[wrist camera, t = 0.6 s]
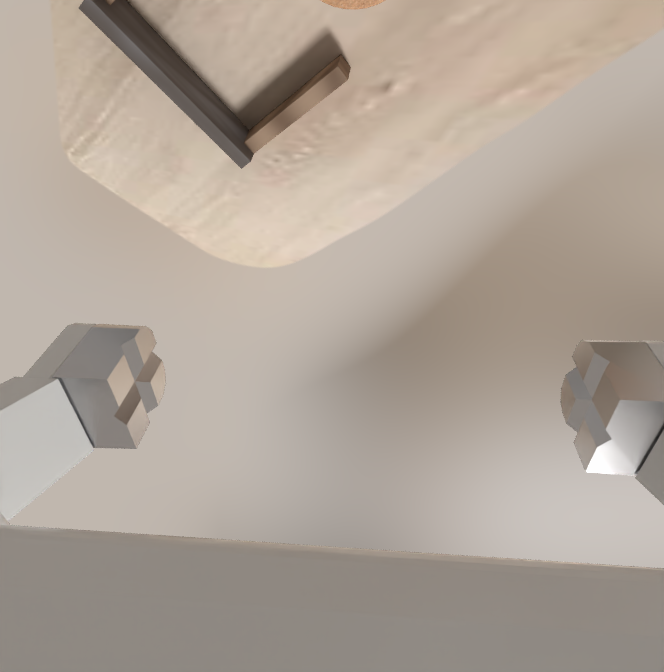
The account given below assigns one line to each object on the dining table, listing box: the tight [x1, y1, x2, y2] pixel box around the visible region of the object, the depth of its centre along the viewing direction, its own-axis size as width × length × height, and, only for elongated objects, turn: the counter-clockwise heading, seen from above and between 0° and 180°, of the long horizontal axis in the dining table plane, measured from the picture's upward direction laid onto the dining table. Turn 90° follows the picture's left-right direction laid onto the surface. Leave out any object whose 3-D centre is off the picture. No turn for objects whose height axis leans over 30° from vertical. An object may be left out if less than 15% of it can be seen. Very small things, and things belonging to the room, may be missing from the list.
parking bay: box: [79, 0, 350, 169], centre depth 44 cm, size 14×19×4 cm
